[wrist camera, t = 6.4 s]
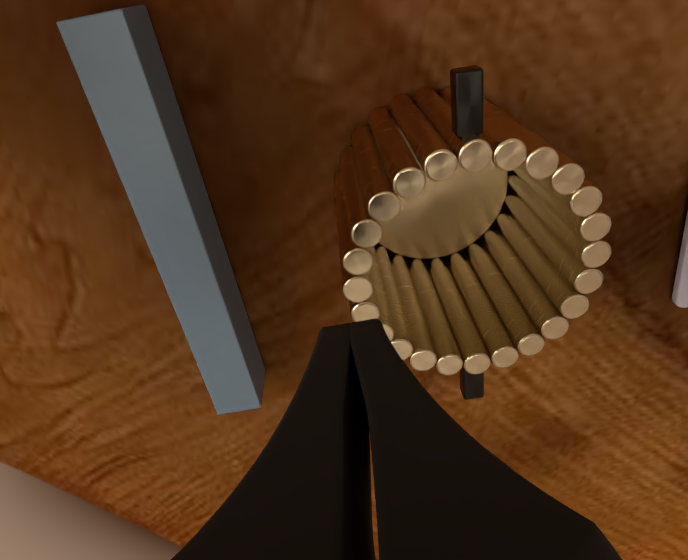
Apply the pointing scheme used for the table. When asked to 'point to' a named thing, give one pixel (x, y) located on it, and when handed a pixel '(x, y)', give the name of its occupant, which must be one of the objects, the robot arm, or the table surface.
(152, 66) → the rectangular block
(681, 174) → the table surface
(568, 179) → the pot
